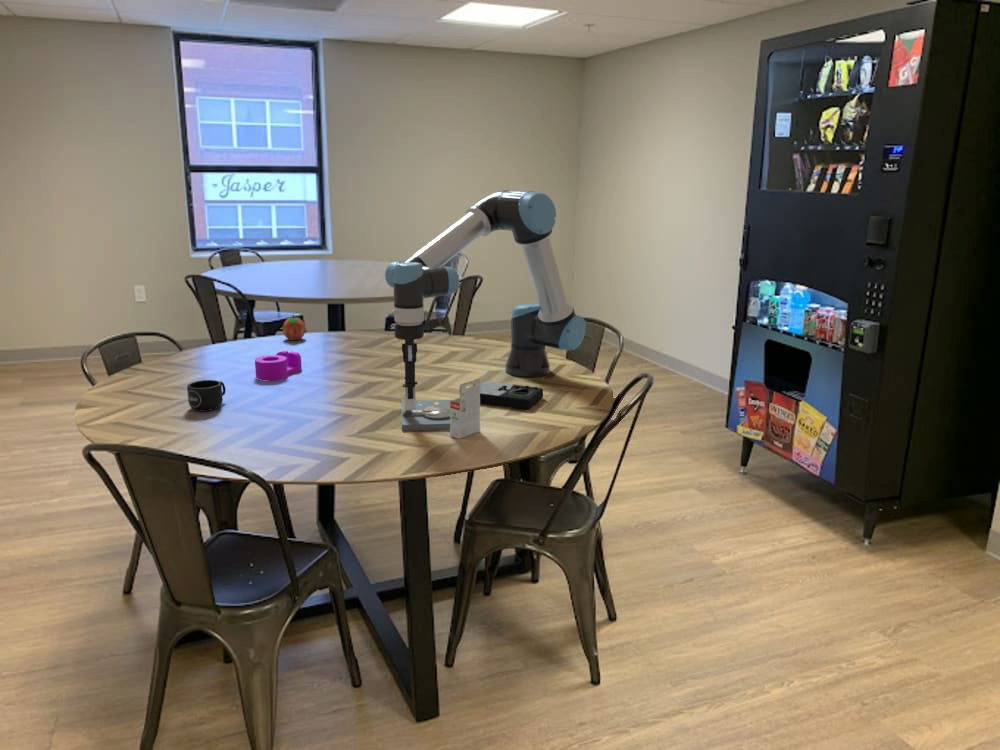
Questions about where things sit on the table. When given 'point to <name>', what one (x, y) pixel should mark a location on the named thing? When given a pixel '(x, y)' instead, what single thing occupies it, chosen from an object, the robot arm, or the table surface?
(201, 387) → the mug
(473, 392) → the ink box
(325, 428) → the table surface
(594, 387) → the table surface
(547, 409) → the table surface
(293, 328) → the fruit
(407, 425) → the panel
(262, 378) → the tape dispenser
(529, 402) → the multimeter
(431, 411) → the dial
